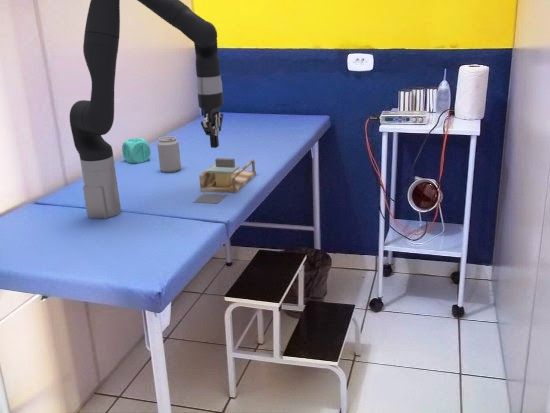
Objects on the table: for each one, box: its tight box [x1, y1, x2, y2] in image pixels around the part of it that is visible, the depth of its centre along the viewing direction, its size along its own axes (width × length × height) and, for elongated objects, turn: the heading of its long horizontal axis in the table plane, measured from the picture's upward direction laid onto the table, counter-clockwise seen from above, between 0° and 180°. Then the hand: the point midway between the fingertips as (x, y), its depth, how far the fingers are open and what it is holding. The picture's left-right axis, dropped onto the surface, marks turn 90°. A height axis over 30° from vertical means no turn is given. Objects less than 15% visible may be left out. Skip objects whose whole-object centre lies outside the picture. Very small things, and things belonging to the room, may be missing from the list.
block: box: [215, 173, 232, 187], centre depth 195 cm, size 4×4×5 cm
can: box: [156, 135, 182, 174], centre depth 216 cm, size 8×8×12 cm
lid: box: [205, 157, 240, 174], centre depth 194 cm, size 6×9×3 cm
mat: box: [192, 193, 228, 205], centre depth 185 cm, size 8×8×1 cm
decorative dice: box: [121, 137, 152, 164], centre depth 231 cm, size 8×8×8 cm
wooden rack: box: [198, 159, 257, 194], centre depth 199 cm, size 20×12×6 cm, turn 163°
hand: (214, 147), depth 187 cm, fingers closed
